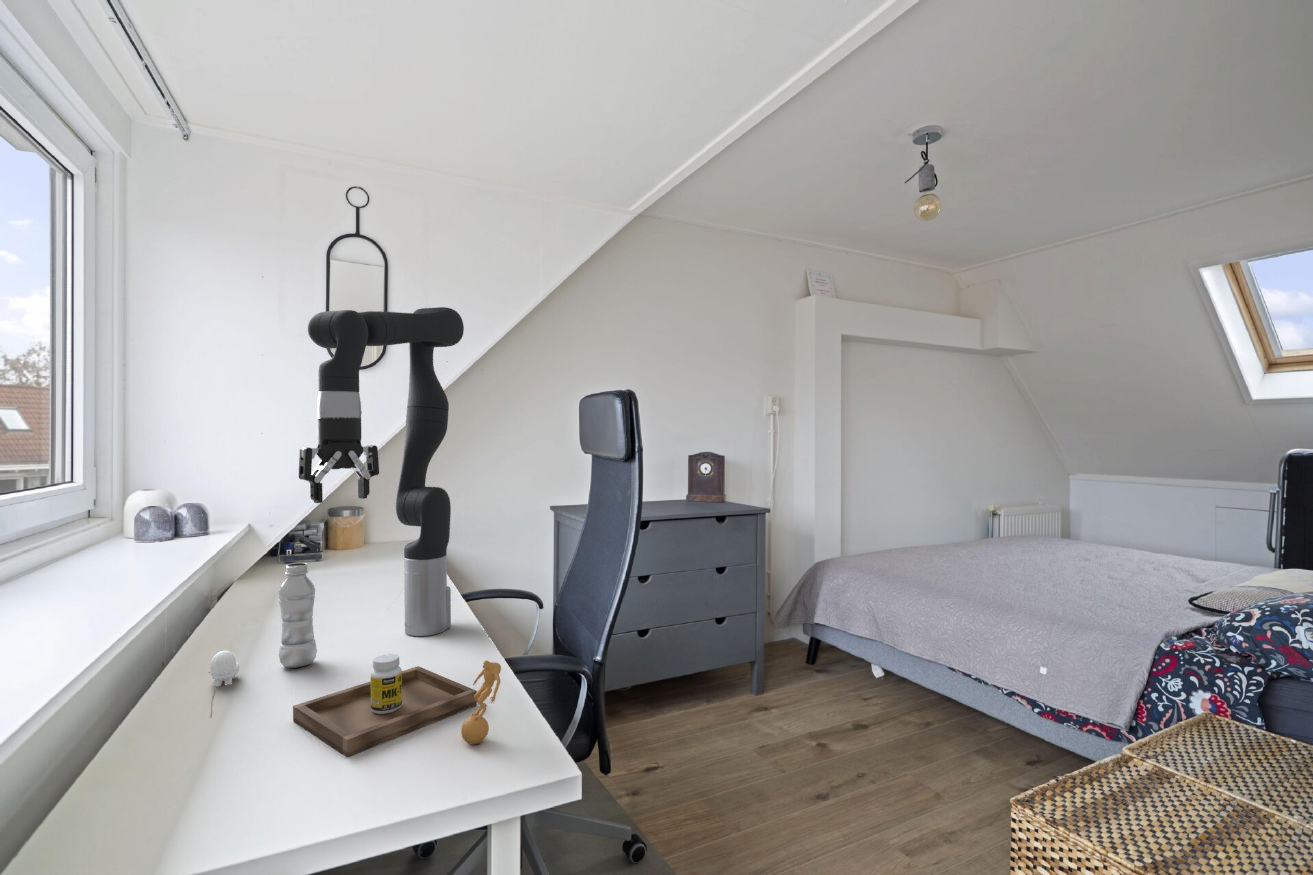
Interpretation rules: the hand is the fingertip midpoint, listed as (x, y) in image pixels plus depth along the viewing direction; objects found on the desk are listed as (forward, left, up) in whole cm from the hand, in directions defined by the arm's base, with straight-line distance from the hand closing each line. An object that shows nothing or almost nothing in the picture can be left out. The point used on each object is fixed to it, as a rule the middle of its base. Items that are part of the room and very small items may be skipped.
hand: (340, 500), depth 125 cm
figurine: (0, +44, -33) cm, 55 cm away
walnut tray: (+4, +24, -33) cm, 41 cm away
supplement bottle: (+4, +24, -32) cm, 40 cm away
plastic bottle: (+4, -10, -33) cm, 35 cm away
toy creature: (+16, -12, -33) cm, 39 cm away
